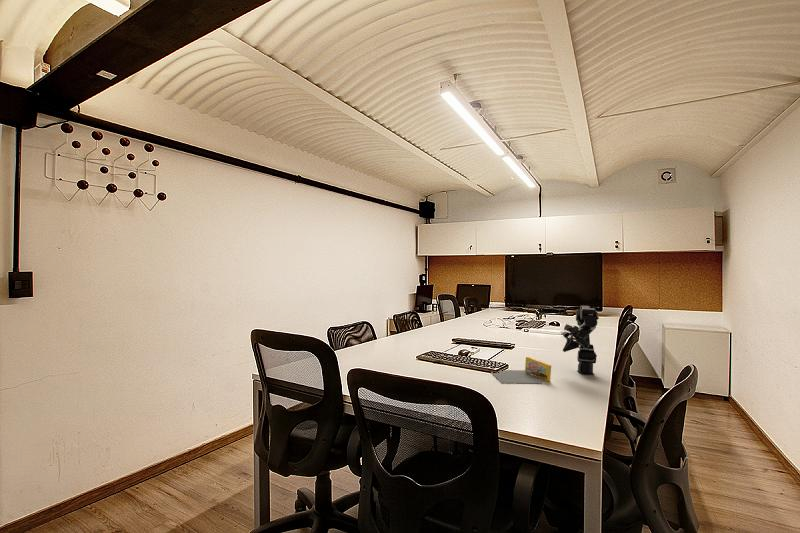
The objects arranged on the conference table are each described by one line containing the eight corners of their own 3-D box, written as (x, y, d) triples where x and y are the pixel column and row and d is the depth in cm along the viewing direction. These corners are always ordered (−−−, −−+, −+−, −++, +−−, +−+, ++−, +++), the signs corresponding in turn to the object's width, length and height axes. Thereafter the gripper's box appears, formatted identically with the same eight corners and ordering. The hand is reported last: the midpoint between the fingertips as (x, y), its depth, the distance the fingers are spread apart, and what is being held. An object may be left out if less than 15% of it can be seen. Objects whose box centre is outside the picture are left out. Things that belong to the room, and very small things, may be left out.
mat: (525, 371, 211) (525, 370, 211) (541, 383, 189) (541, 382, 189) (489, 370, 211) (489, 370, 211) (501, 383, 189) (501, 382, 189)
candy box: (524, 372, 207) (525, 356, 207) (527, 371, 208) (528, 356, 208) (547, 381, 193) (548, 365, 193) (550, 381, 194) (552, 364, 194)
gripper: (565, 316, 210) (545, 336, 210) (583, 322, 192) (561, 344, 191) (579, 331, 211) (559, 351, 210) (598, 338, 192) (576, 360, 192)
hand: (563, 351), depth 201 cm, fingers closed
